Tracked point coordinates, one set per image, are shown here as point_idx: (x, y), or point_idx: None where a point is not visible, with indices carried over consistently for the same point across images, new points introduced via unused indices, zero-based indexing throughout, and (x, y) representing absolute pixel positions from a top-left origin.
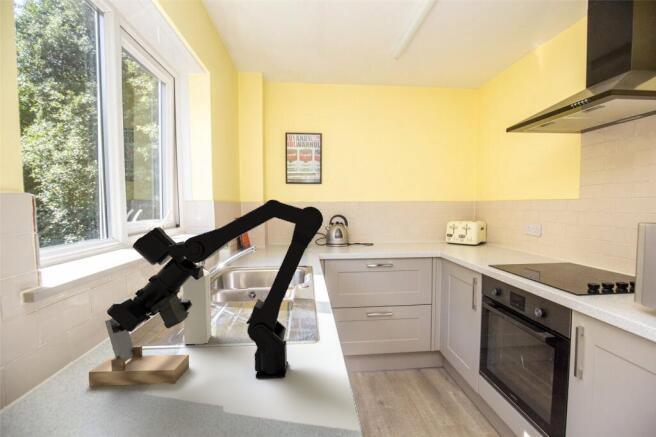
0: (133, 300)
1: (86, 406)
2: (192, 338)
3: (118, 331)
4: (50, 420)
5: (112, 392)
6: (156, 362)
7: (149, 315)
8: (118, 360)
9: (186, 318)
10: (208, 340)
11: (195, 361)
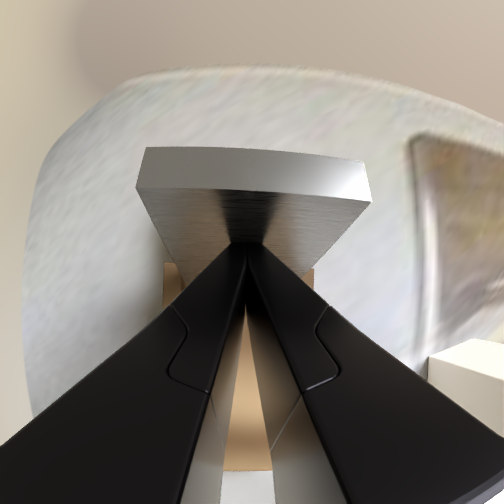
0: (345, 495)
1: (88, 261)
2: (439, 384)
3: (220, 250)
4: (53, 213)
5: (143, 293)
6: (233, 399)
7: (276, 497)
8: (163, 294)
9: (489, 386)
10: None
11: None
